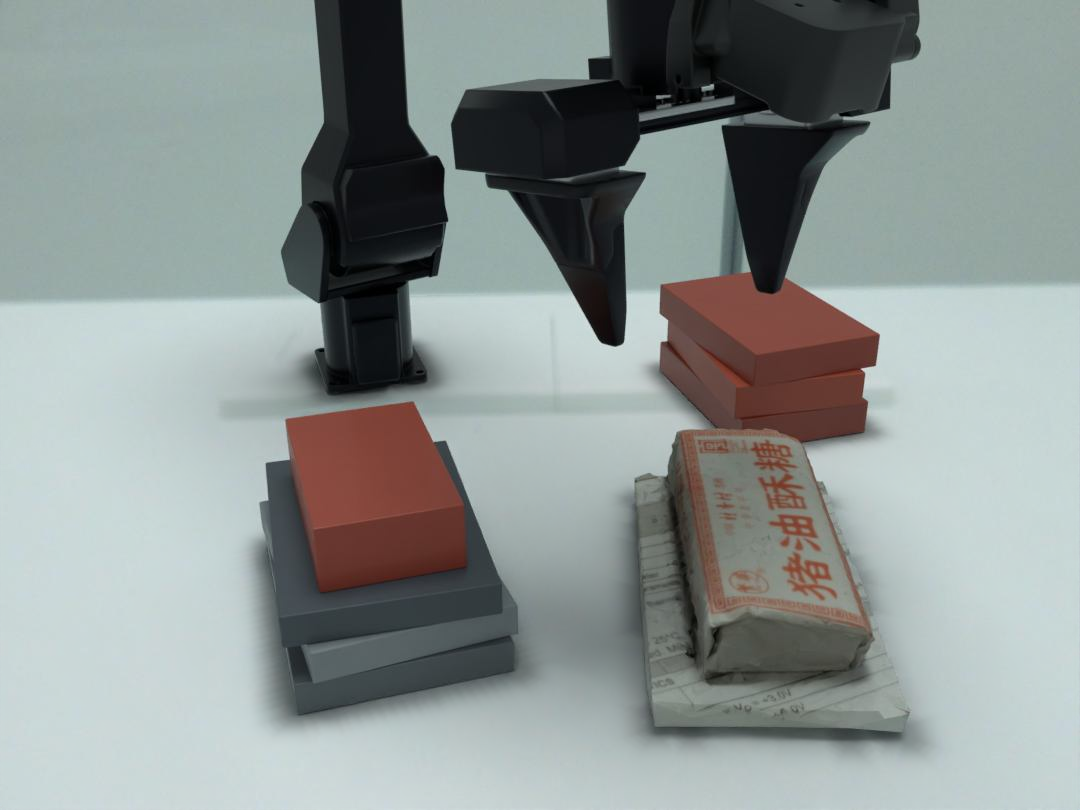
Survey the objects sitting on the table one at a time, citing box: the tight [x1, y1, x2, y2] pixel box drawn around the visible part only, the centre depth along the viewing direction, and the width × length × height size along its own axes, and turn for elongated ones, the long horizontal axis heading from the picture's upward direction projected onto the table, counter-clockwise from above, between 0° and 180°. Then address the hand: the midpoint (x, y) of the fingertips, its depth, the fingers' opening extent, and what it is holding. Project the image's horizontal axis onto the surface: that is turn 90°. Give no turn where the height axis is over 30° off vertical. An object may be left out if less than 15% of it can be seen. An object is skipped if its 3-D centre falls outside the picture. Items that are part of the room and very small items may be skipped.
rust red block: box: [284, 400, 467, 593], centre depth 50 cm, size 10×6×3 cm, turn 17°
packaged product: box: [633, 428, 911, 733], centre depth 51 cm, size 18×5×10 cm
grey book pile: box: [258, 440, 519, 716], centre depth 52 cm, size 13×10×4 cm
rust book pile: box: [658, 271, 881, 443], centre depth 70 cm, size 13×9×6 cm
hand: (694, 317), depth 47 cm, fingers open, 9 cm apart
